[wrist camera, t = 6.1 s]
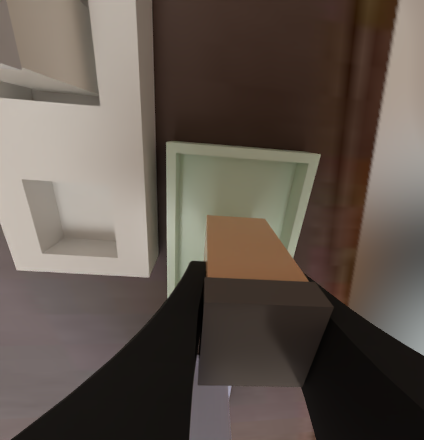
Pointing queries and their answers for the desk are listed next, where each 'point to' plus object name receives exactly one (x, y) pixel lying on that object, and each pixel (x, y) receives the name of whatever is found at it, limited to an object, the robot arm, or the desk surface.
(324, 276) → the desk surface
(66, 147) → the block
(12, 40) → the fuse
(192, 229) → the parts tray
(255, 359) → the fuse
